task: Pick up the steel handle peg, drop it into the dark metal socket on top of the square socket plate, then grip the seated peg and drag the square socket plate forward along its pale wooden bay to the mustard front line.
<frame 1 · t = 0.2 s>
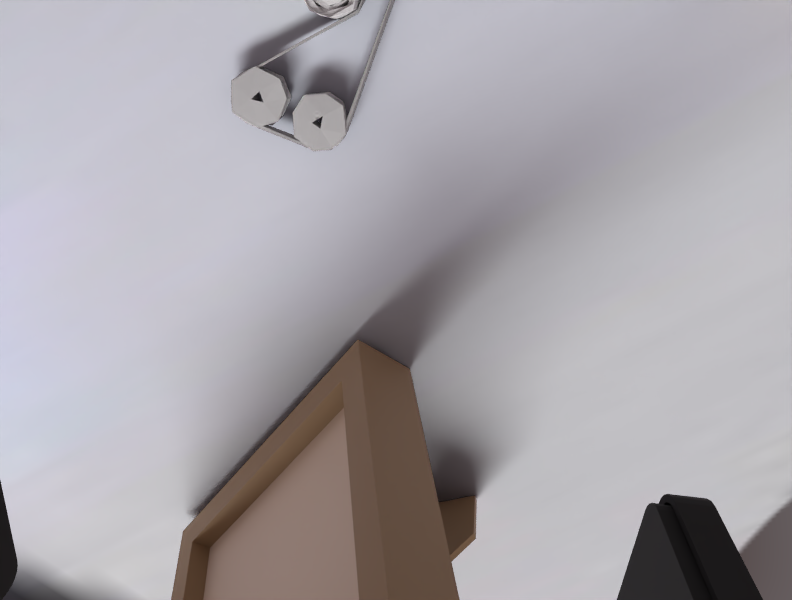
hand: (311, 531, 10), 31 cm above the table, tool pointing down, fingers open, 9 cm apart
photo frame: (349, 487, 49), on the table
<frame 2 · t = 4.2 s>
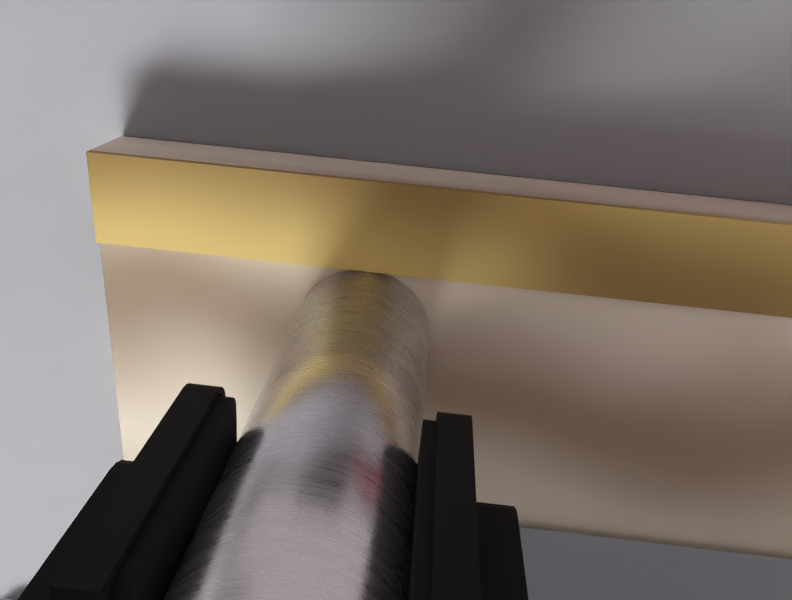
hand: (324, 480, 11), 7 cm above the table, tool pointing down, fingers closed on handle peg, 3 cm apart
handle peg: (363, 329, 15), point 1 cm above the table, touching bay, gripper
bay: (521, 549, 20), on the table
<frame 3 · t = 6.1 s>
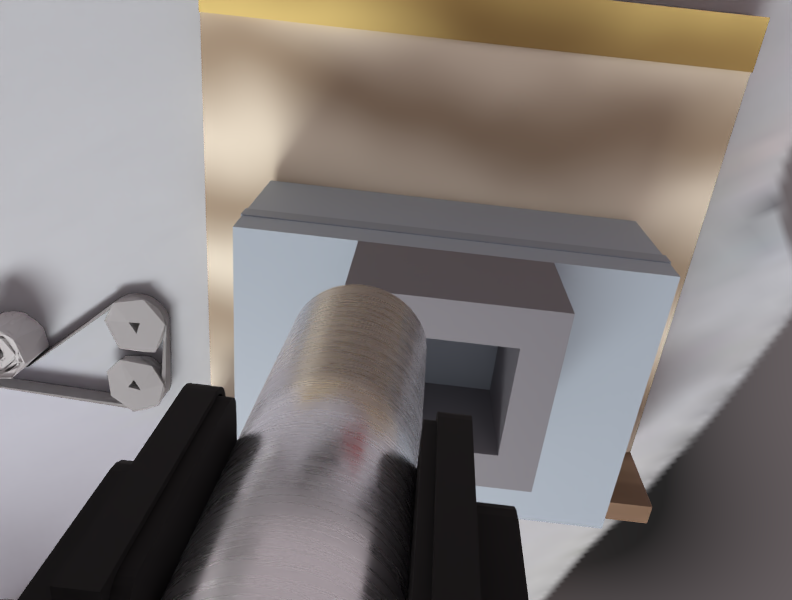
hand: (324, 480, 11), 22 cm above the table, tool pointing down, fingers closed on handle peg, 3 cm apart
square socket plate: (435, 378, 27), point 7 cm above the table, slide at 0.0 cm
handle peg: (358, 347, 15), point 17 cm above the table, touching gripper
bay: (444, 239, 32), on the table
when the fingers open (14 cm above the table, at t = 8.4 s): handle peg drops 2 cm, resting on square socket plate.
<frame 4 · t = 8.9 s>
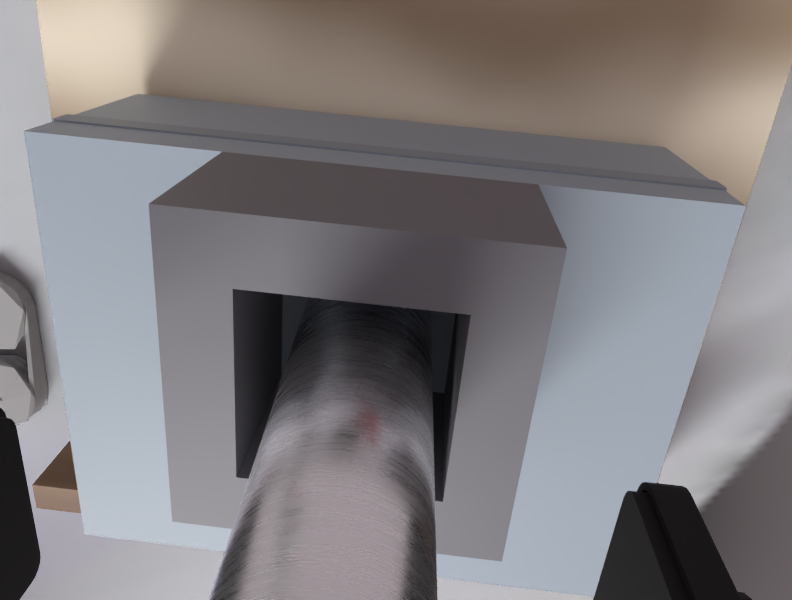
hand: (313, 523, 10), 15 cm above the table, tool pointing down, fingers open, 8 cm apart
square socket plate: (366, 376, 18), point 7 cm above the table, slide at 0.0 cm, touching handle peg
handle peg: (368, 314, 16), point 8 cm above the table, touching square socket plate
bay: (395, 185, 23), on the table
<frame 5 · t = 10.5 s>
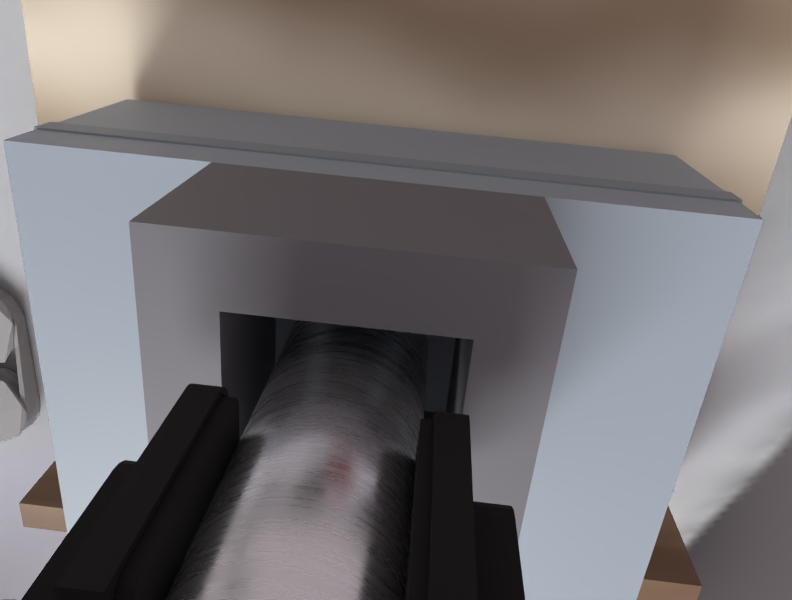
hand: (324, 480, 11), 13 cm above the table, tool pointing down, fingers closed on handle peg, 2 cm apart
square socket plate: (363, 394, 17), point 7 cm above the table, slide at 0.0 cm
handle peg: (360, 345, 15), point 9 cm above the table, touching gripper
bay: (394, 193, 22), on the table
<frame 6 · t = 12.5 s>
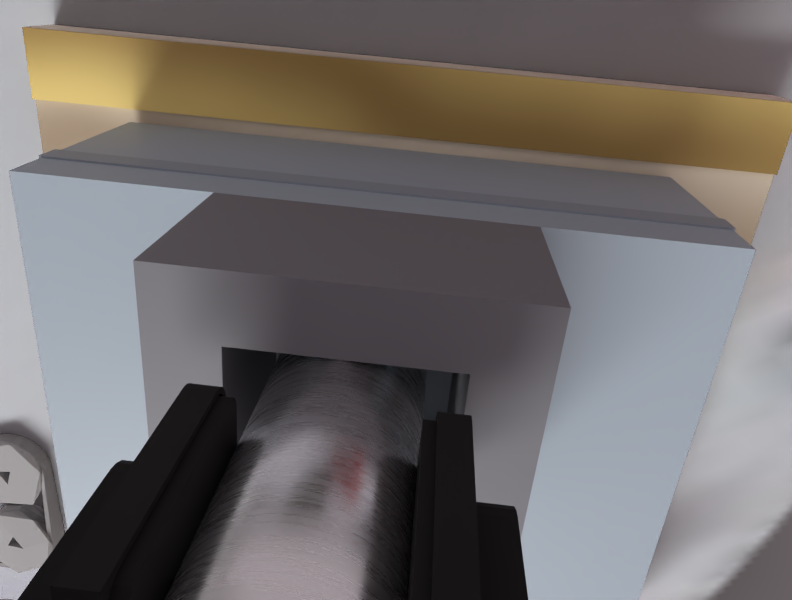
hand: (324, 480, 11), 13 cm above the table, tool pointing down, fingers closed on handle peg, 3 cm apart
square socket plate: (363, 416, 18), point 7 cm above the table, slide at 6.1 cm, touching handle peg
handle peg: (357, 353, 14), point 9 cm above the table, touching square socket plate, gripper
bay: (380, 370, 25), on the table
when the fingers open (13 cm above the table, at t = 13.4 s): handle peg moves 1 cm, resting on square socket plate.
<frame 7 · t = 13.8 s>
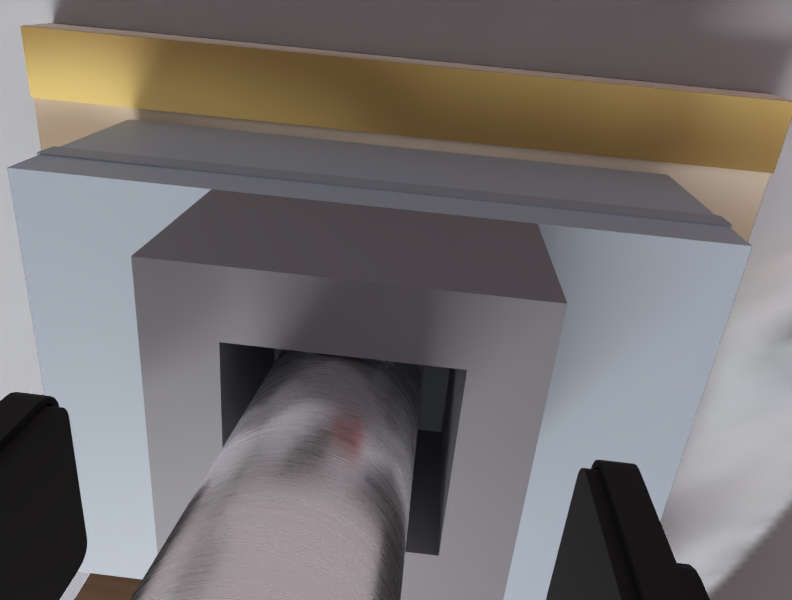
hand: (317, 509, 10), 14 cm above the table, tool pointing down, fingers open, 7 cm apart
square socket plate: (361, 412, 18), point 7 cm above the table, slide at 6.2 cm, touching handle peg
handle peg: (361, 345, 16), point 8 cm above the table, tilted 6°, touching square socket plate
bay: (378, 368, 25), on the table
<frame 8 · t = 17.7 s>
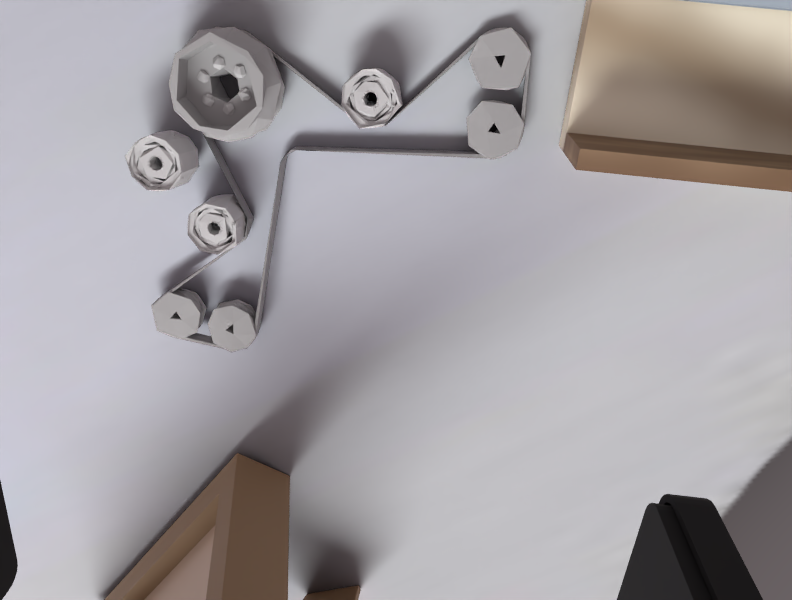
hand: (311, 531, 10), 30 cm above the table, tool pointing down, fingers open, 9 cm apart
pulley system: (292, 147, 39), on the table
photo frame: (244, 576, 53), on the table
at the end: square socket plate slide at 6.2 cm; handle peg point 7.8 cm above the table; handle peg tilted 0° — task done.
